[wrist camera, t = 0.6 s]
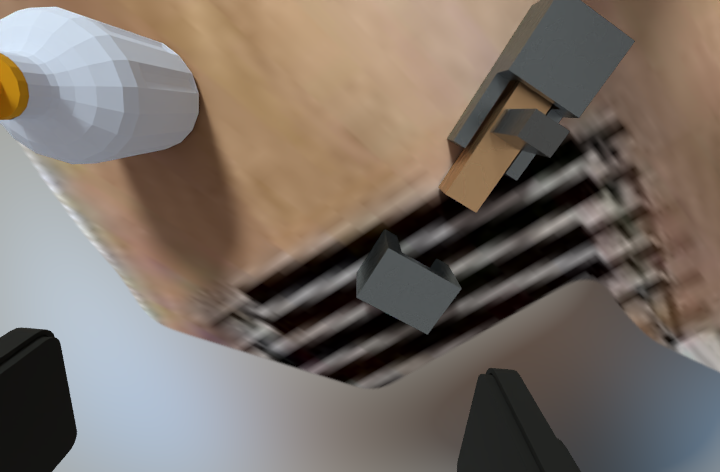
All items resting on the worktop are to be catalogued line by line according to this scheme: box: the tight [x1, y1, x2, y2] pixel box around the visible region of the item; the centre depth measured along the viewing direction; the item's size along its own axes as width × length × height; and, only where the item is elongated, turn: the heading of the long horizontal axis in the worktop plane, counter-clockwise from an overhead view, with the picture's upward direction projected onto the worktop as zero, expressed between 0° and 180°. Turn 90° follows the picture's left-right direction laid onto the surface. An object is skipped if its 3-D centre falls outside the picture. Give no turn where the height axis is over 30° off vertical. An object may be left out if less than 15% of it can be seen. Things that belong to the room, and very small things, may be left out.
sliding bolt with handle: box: [439, 80, 570, 212], centre depth 29 cm, size 16×3×8 cm, turn 150°
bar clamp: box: [356, 0, 635, 335], centre depth 32 cm, size 27×7×5 cm, turn 150°
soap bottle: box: [0, 7, 199, 164], centre depth 21 cm, size 9×9×25 cm
